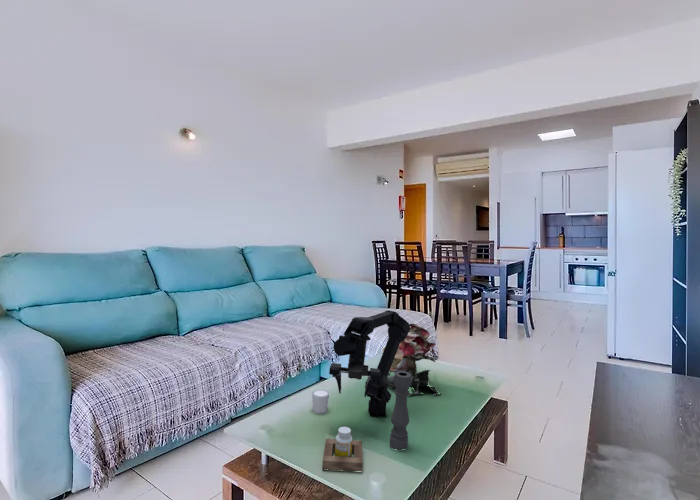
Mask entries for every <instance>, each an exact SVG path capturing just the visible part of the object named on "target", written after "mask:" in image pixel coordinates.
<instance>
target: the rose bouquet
mask: <svg viewBox="0 0 700 500" xmlns="http://www.w3.org/2000/svg"><path fill="white" fill-rule="evenodd" d="M409 325H410V331H409V333H408V335H407V337H406V338H405V339H404V340H403V341H402V342H401V343H400V344H399V347H398V350H397V352H396V355H395V357H394V360H393V363H392V365H391V368H390V371H389V373H388V376H387V379H388V388H389V389H390V390H392V391H393V392H394V390H395V389H396V387H395V384H394V376H392V375H391V373H394V374H395V372H397V371H405V372H408V373H410V374H411V385H410V387H413V388H414V390H415V393H411V394H409V395H410V396H411V397H412V395H421V394H420V393H421V391H420V390H419V386H420V385H421V386H420V387H424V388H428V389H429V390H431V391H433V392H435V393H433V394H432V396H437V395H436V394H438V392H437V391H438V389H437V388H436V389H437V390H436V389H435V387H436V386H434V387H429V386H427V385H428V381H429V380H430V378H429V372H431V370H430V369H425V370H422V371H419V372H418V370H417V365H418V363H416V362H419V361H421V360H428V361H431V362H434V363H436V359H434V358H433V357H431V356H429V355H426V354H428V353H429V352H430V353H434V351H433V350H431V349H432V348H433V347H435V346H436V345H437V343H434V342H429V340H428V339H429V338H430V335H431V333H430V332H429V331H428V330H427V329H426V328H423V327H422V326H419V324H417V323H413V322H411V323H409ZM384 349H385V347H383V348H382V354H383V352H384ZM429 382H430V381H429Z"/></svg>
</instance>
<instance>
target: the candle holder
mask: <svg viewBox="0 0 700 500" xmlns="http://www.w3.org/2000/svg"><path fill="white" fill-rule="evenodd" d="M394 384H395V387H396V389H395V390H394V391H393V393H394V395H395V404H394V407H393V410H392V414H391V418H390V420H391V424H392V428H391V430H390V434H389V448H391V449H392V448H393V449H397V450H402V449H406V448H407V447H409V446H408V445H409V436H408V434H409V433H408V430H407V426H408V425H409V423H410V416H409V409H408V398H409V397H408V396H409V394H410V393H409V391H408V389H409V387H410V385H411V374H410V373H408V372H405V371H397V372H395V373H394ZM393 449H392V450H393ZM407 449H408V448H407ZM407 449H406V450H407Z"/></svg>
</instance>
